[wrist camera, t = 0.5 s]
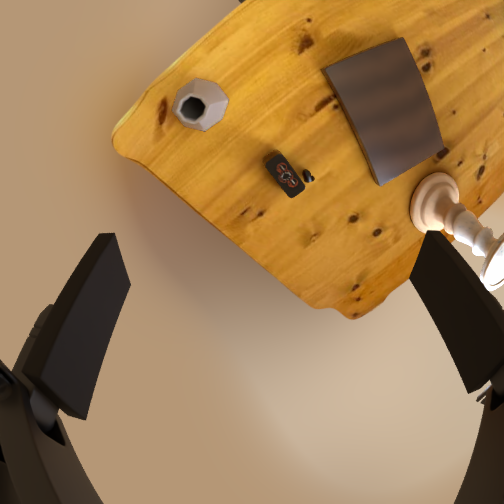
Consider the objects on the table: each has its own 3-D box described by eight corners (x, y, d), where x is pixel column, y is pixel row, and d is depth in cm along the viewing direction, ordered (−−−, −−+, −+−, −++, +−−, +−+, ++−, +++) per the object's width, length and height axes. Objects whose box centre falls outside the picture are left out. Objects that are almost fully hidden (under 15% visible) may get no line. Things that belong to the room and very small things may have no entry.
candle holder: (399, 197, 43) (475, 264, 26) (445, 159, 39) (527, 208, 22) (420, 242, 49) (480, 309, 32) (460, 206, 45) (526, 261, 28)
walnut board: (320, 69, 31) (324, 68, 30) (398, 37, 28) (403, 37, 27) (375, 183, 41) (380, 186, 40) (439, 146, 38) (444, 148, 37)
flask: (162, 112, 33) (143, 120, 24) (194, 69, 30) (184, 61, 22) (206, 140, 36) (200, 156, 27) (238, 98, 33) (244, 100, 24)
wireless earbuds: (288, 195, 41) (293, 203, 38) (260, 158, 38) (263, 164, 35) (313, 177, 40) (320, 184, 37) (286, 139, 37) (292, 143, 34)
